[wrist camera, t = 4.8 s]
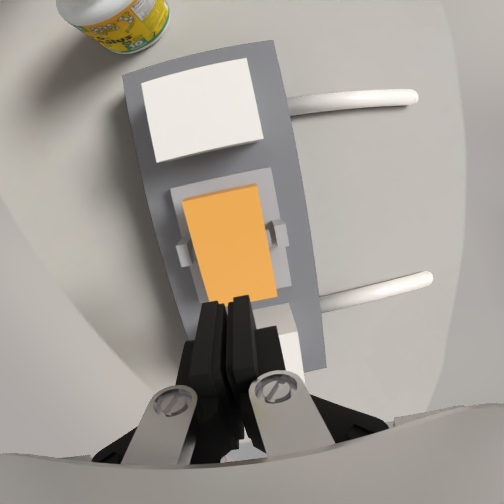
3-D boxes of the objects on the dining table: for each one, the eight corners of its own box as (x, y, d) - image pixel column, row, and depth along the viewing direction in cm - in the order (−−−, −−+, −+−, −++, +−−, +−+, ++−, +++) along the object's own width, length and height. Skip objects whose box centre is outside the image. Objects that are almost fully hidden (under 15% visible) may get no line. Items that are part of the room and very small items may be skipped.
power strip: (137, 84, 18) (98, 61, 12) (401, 48, 18) (448, 23, 12) (209, 365, 25) (202, 422, 19) (426, 315, 24) (465, 355, 18)
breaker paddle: (182, 196, 16) (177, 202, 15) (259, 180, 16) (261, 185, 15) (209, 297, 18) (208, 309, 17) (278, 284, 18) (281, 295, 17)
